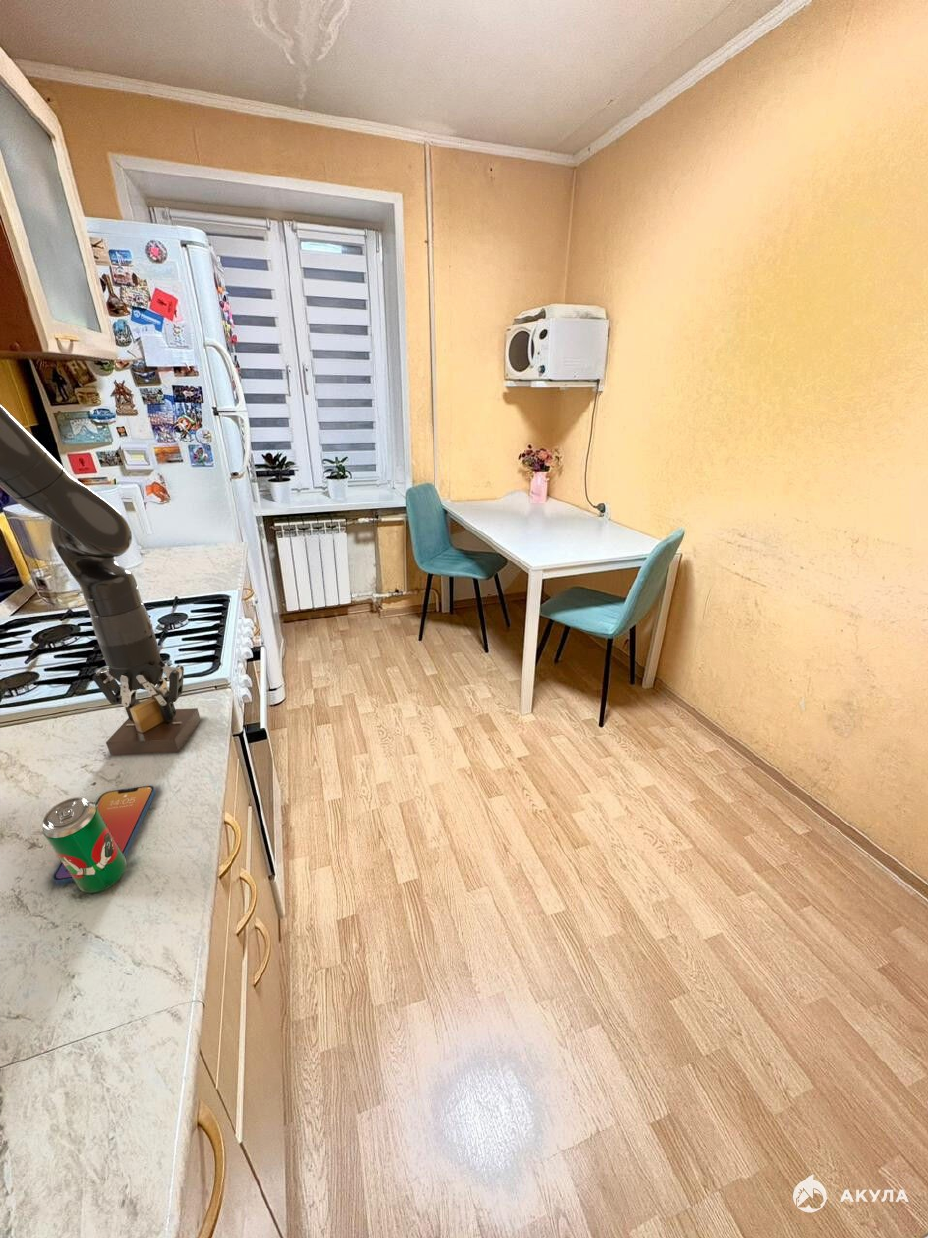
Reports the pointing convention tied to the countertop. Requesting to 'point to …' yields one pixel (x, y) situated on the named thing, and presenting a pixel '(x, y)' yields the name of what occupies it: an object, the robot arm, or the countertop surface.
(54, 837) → the soda can
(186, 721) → the plate
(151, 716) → the lock knob
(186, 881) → the countertop surface
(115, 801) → the smartphone
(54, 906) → the countertop surface
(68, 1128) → the countertop surface
